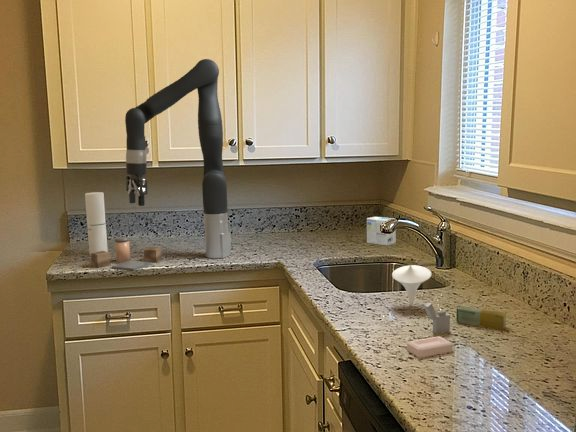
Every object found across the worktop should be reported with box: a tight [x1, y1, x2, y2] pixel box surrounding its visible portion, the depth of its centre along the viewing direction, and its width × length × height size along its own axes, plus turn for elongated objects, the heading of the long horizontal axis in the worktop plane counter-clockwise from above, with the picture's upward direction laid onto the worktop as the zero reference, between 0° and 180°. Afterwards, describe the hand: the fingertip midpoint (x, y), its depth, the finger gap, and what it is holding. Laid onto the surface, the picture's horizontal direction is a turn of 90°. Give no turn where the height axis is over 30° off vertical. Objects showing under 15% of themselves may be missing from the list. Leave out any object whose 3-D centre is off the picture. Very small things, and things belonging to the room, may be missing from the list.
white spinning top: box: [391, 264, 432, 307], centre depth 169 cm, size 10×11×12 cm
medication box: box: [455, 305, 507, 330], centre depth 154 cm, size 12×3×4 cm, turn 57°
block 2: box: [143, 246, 163, 264], centre depth 232 cm, size 5×5×5 cm
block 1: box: [90, 251, 112, 269], centre depth 226 cm, size 5×5×5 cm
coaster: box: [111, 259, 152, 271], centre depth 224 cm, size 10×10×1 cm
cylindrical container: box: [84, 191, 109, 257], centre depth 244 cm, size 7×7×25 cm
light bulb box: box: [366, 216, 397, 246], centre depth 255 cm, size 11×7×11 cm, turn 46°
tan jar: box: [114, 236, 131, 264], centre depth 233 cm, size 6×6×9 cm
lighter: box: [422, 301, 451, 335], centre depth 148 cm, size 7×2×8 cm, turn 116°
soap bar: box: [406, 335, 454, 358], centre depth 137 cm, size 5×9×2 cm, turn 112°
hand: (136, 204), depth 230 cm, fingers open, 8 cm apart
